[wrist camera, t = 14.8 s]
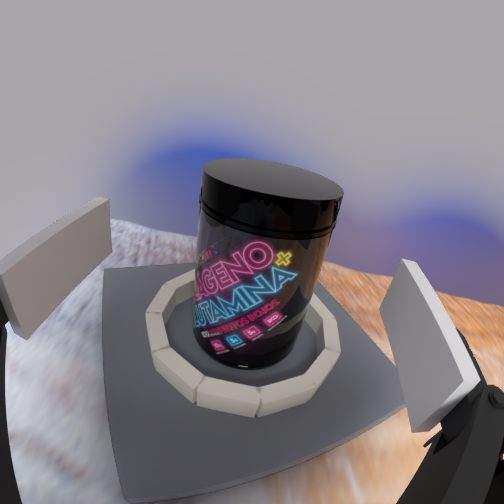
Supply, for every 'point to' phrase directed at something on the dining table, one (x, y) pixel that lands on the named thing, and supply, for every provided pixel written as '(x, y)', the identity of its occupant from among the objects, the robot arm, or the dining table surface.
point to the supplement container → (258, 257)
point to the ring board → (218, 439)
